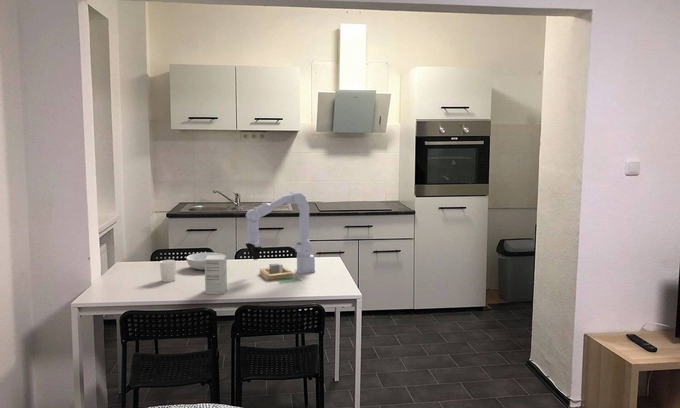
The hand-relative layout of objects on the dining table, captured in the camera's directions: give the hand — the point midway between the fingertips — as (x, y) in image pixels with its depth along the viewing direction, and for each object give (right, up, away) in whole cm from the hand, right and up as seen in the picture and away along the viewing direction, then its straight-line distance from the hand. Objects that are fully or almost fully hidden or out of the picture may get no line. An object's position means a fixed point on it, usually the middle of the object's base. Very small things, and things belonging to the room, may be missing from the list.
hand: (253, 258), depth 295 cm
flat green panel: (+19, -11, -6) cm, 23 cm away
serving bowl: (-30, -8, +20) cm, 37 cm away
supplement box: (-14, -14, -26) cm, 33 cm away
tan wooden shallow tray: (+12, -10, +2) cm, 15 cm away
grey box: (+12, -10, +2) cm, 15 cm away
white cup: (-43, -11, -6) cm, 45 cm away
